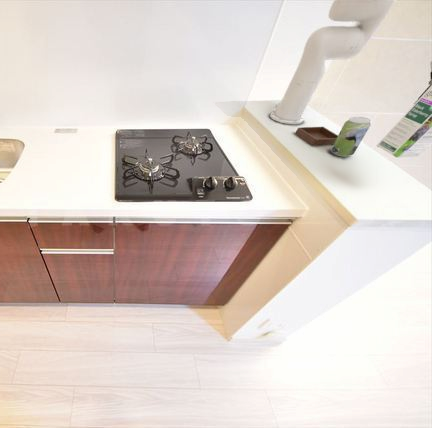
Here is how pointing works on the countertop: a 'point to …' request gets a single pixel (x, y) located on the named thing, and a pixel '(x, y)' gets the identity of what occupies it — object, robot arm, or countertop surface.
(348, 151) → the beverage can
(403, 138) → the syrup box
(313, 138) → the tray
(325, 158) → the countertop surface
